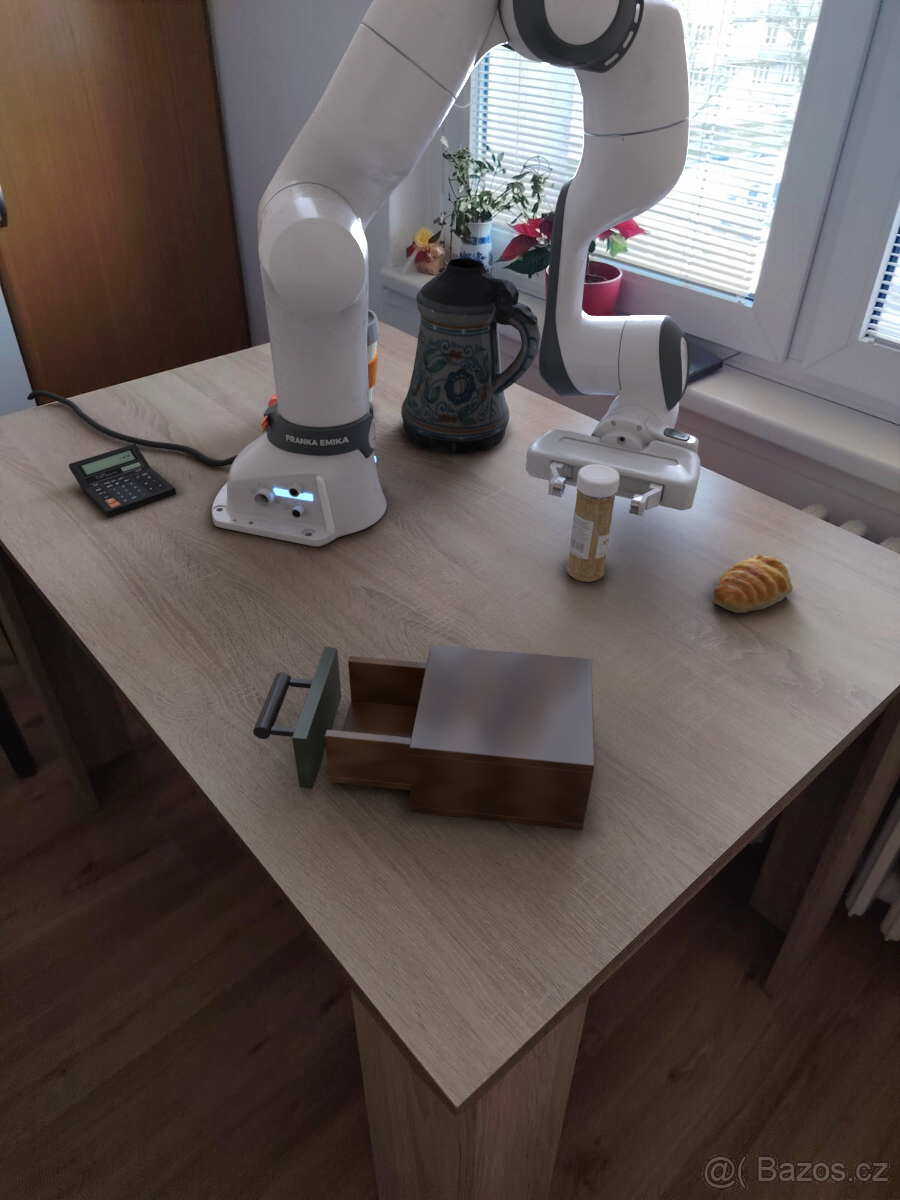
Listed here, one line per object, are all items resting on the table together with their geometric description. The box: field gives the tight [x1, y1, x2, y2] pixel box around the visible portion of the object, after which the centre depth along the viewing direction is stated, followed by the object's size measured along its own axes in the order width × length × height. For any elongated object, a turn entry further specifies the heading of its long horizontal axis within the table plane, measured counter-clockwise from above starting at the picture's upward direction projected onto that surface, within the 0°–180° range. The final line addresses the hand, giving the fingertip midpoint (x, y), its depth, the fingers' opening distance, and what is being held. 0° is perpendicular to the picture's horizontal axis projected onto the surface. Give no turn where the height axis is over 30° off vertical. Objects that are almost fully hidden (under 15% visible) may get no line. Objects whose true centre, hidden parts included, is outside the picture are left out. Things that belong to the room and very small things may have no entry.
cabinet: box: [409, 644, 596, 831], centre depth 72 cm, size 15×13×8 cm
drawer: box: [252, 646, 427, 791], centre depth 73 cm, size 18×11×6 cm, turn 83°
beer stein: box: [400, 258, 541, 455], centre depth 120 cm, size 16×19×25 cm
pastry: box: [713, 554, 794, 614], centre depth 94 cm, size 9×7×4 cm
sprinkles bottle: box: [566, 464, 620, 583], centre depth 94 cm, size 5×5×14 cm
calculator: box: [68, 443, 177, 518], centre depth 111 cm, size 9×12×3 cm
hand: (594, 499), depth 92 cm, fingers open, 8 cm apart
